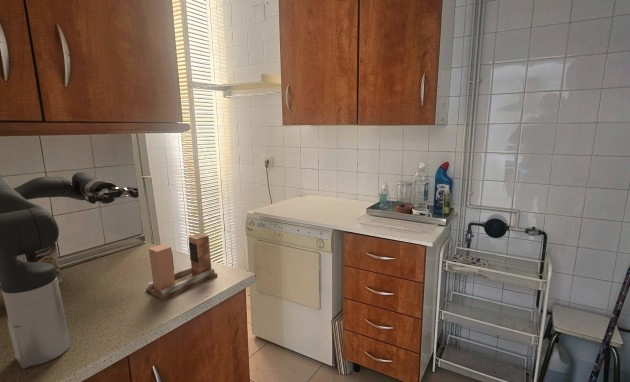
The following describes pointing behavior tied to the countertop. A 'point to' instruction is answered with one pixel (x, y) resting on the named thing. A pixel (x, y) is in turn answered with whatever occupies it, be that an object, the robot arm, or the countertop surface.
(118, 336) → the countertop surface
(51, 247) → the coffee box
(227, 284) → the countertop surface
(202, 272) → the rail base
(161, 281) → the block
